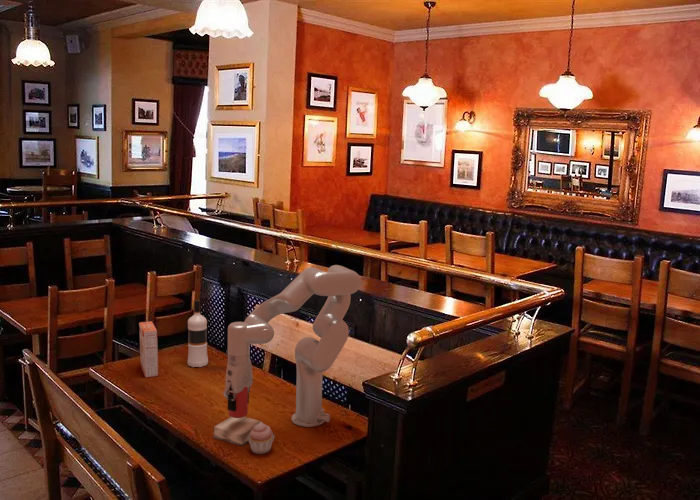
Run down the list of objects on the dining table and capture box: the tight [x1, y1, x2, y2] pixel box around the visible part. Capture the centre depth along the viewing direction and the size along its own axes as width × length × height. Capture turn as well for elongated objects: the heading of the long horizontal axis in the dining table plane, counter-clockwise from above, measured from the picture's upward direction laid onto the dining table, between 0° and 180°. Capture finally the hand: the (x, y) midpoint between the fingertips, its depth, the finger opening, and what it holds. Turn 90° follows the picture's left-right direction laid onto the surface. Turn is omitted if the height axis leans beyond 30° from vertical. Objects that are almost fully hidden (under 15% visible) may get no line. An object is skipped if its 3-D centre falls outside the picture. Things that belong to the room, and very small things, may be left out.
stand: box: [212, 416, 263, 447], centre depth 231 cm, size 12×12×4 cm
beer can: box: [228, 387, 249, 418], centre depth 229 cm, size 7×7×12 cm
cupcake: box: [247, 421, 275, 455], centre depth 220 cm, size 9×9×10 cm
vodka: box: [186, 299, 209, 368], centre depth 294 cm, size 9×9×30 cm
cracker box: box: [138, 321, 159, 379], centre depth 285 cm, size 14×6×21 cm, turn 25°
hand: (238, 406), depth 230 cm, fingers closed on beer can, 6 cm apart
